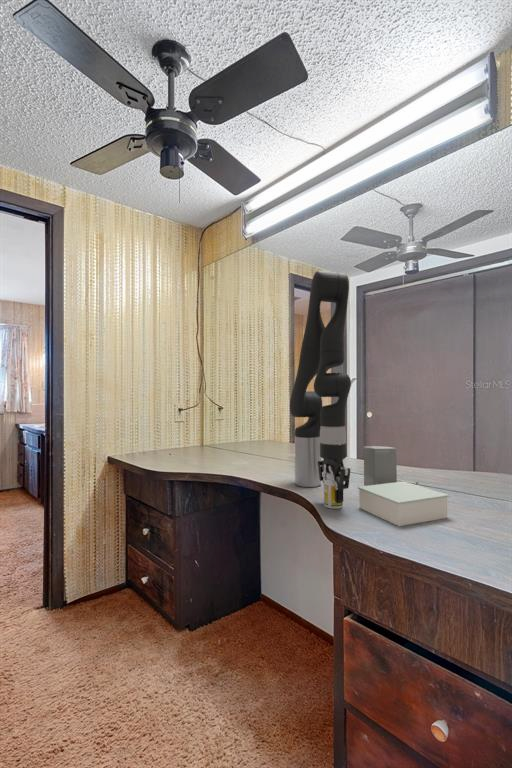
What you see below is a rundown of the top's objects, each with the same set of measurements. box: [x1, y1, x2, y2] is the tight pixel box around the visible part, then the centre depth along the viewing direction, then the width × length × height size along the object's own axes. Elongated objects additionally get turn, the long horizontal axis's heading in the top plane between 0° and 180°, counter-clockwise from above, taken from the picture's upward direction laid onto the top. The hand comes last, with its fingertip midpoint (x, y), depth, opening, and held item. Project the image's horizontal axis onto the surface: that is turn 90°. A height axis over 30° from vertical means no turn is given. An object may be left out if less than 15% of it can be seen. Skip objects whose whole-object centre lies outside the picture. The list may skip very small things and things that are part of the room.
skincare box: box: [363, 445, 398, 486], centre depth 124 cm, size 8×7×16 cm
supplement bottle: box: [323, 473, 344, 510], centre depth 114 cm, size 5×5×10 cm
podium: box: [357, 481, 450, 527], centre depth 108 cm, size 17×17×6 cm
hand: (333, 499), depth 114 cm, fingers closed on supplement bottle, 5 cm apart
